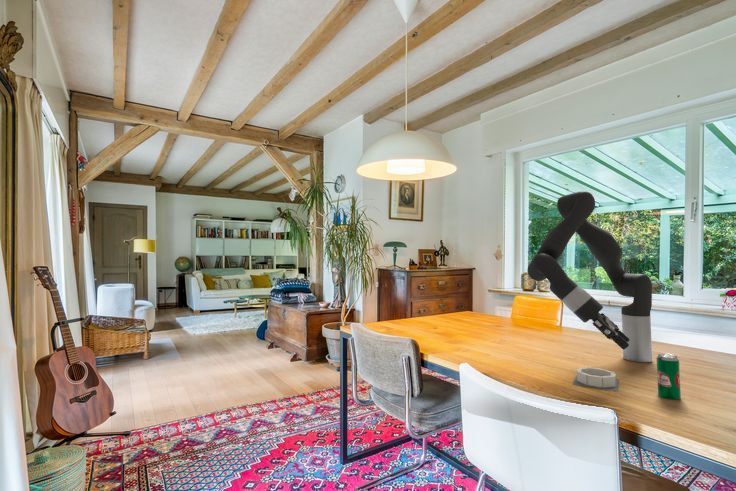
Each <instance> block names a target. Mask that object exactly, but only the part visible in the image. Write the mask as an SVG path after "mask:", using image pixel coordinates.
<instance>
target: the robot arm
mask: <svg viewBox="0 0 736 491" xmlns="http://www.w3.org/2000/svg"><path fill="white" fill-rule="evenodd" d="M556 204H557V205H556V207H557V210H558V212H559V214H560V216H561V217H562V218H563V220H561V221H560V222H559V223H558V224H557V225H555V226H554V227H553V228H552V229H551V230H550V231H549V232H548V234H547V235H546V236H545V238H544V240H543V241H542V243H541V246H540V247H539V249H538V251H537V253H536V254H535V256H534V257H533V258H532V260H531V262H530V263H529V264H528V266H527V274H528V276H529V278H530V279H531V280H533V281H535V282H540V281H541V282H542V281H544V280H547V281H548V282H549V291H551V292H552V294H554V295H555V296H556V297H557V298H558V299H559V300H560V301H561V302H562V303H563V304H564V305H565V306H566V308H568V310H570V311H571V312H572V313H573V314H574V315H575V316H576V317H577V318H579V320H581V321H582V322H583V323H587V322H589V321H590V320H591V321H592V322H593V323H592V325H593V327H595V328H597V330H598V331H599V332H600V333H601V334H603V335H604V336H605V337H606V339H608V340H611V341H613V343H615V344H616V345H617V346H619V348H620V349H622V358H623V360H624V359H625V360H627V361H632V362H639V363H650V362H653V351H652V350H653V348H652V346H653V345H652V326H651V325H652V324H651V320H652V319H651V311H652V307H653V306H652V305H653V304H652V302H653V283H652V280H651V278H650V276H649V275H647V274H645V273H628V272H626V271H625V269H624V268H623V267H622V265H621V264H620V263H621V262H620V261H621V258H622V247H621V246H620V244H619V242H618V241H617V240H616V237H614V235H612V234H611V232H609V231H608V230H606V229H604V228H602V227H600V226H599V225H596V224H595V223H592V221H589V220H588V218H589V217H591V215H592V214H593V212H594V210H595V207H596V200H595V197H594V196H593V193H591V192H590V191H588V190H581V191H577V192H576V191H575V192H572V193H569V194H565V195H563V196H560V197H559V198H558V200H557V203H556ZM574 234H577V235H578V236H579V237H580V239H581V240H582V241H583V243H584V244H585V245H586V247H587V249H588V250H589V251H590V252H591V254H592V255H593V257H594V258H595V260H597V262H598V263H599V264H600V266H601V268H602V269H603V270H604V273H606V274H607V277H608V278H609V280H610V282H611V284H612V285H613V287H614V289H615V291H616V292H617V293H618V295H620V296H623V297H628V298H633V299H632V300H633V301H632V303H630V304H628V305H624V306H622V307H621V314H620V315H621V330H620V328H619V325H617V324H616V323H614V322H613V321H612V320H611V319H610V318H609V317H608V316H607V315H606V314H605V313H603V312H601V311H602V310H603V309H604V306H603V305H602V304H601V303H600V302H598V301H597V300H596V299H595V298H594V297H593V296H592V295H591V294H590V293H589V292H587V291H586V290H585V289H583V287H581V286H579V284H577V283H576V282H575V281H573V280H572V279H571V278H570V277H569V276H568V275H567V273H566V272H565V270H564V269H563V268H562V266H561V264H560V263H559V262H558V259H559V258H560V257H561V256H562V254H563V253H564V251H565V249H566V247H567V245H568V244H569V241H571V239H572V237H574ZM600 312H601V313H600Z"/></svg>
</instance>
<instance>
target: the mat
mask: <svg viewBox="0 0 736 491" xmlns="http://www.w3.org/2000/svg"><path fill="white" fill-rule="evenodd" d="M575 375H576V376H575V377H574V380H573V382H572V385H573V386H578V387H585V388H591V389H598V390H604V391H610V392H616V393H618V392H619V388H620V378H616V386H615V387H605V388H604V387H596V386H590V385H586V384H583V383H581V382H579V381H577V374H575Z"/></svg>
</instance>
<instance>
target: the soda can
mask: <svg viewBox="0 0 736 491" xmlns="http://www.w3.org/2000/svg"><path fill="white" fill-rule="evenodd" d="M655 359H656V379H657V395H658V396H659V397H660V398H663V399H666V400H671V401H678V400H679V401H680V400H681V398H682V396H681V394H682V393H681V391H682V390H681V370H680V369H681V368H680V359H679V358H678V355H675V354H671V353H657V356H656V358H655Z"/></svg>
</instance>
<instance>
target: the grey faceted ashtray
mask: <svg viewBox="0 0 736 491" xmlns="http://www.w3.org/2000/svg"><path fill="white" fill-rule="evenodd" d="M576 375H577V381H579V382H581V383H583V384H586V385H590V386H596V387H604V388H605V387H615V386H616V379H617V376H616V372H615V371H610V370H608V369H605V368H598V367H592V366H591V367H590V366H589V367H579V368H577V370H576Z"/></svg>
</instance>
